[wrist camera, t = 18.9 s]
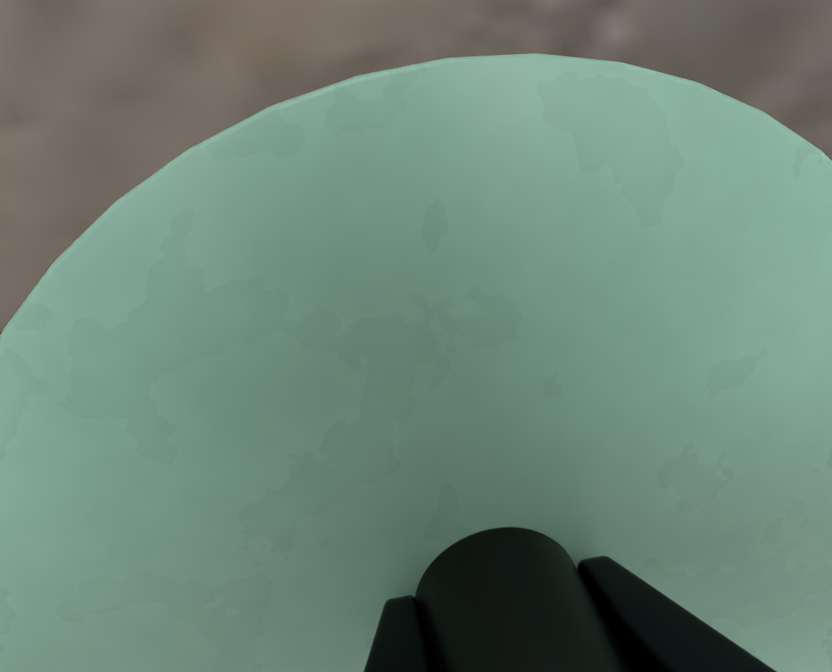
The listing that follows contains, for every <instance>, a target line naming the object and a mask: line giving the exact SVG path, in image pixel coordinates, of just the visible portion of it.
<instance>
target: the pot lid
mask: <svg viewBox="0 0 832 672" xmlns="http://www.w3.org/2000/svg"><path fill="white" fill-rule="evenodd" d="M597 556H607V557H610V558H611V559H613V560H614V561H616V562H617V563H619V564H620V565H622V566H623V567H625V568H626V569H627V570H629V571H630V572H632V573H633V574H635V575H636V576H638V577H639V578H641V579H642V580H644V581H645V582H646V583H648V584H649V585H651V586H652V587H654V588H655V589H657V590H658V591H660V592H661V593H663V594H664V595H666V596H667V597H668V598H670V599H671V600H673V601H674V602H676V603H677V604H679V605H680V606H682V607H683V608H685V609H686V610H687V611H689V612H690V613H692V614H693V615H695V616H696V617H698V618H699V619H701V620H702V621H704V622H705V623H706V624H708V625H709V626H711V627H712V628H714V629H715V630H717V631H718V632H720V633H721V634H723V635H724V636H726V637H727V638H728V639H730V640H731V641H733V642H734V643H736V644H737V645H739V646H740V647H742V648H743V649H745V650H746V651H747V652H749V653H750V654H752V655H753V656H755V657H756V658H758V659H759V660H761V661H762V662H764V663H765V664H766V665H768V666H769V667H771V668H772V669H774V670H775V671H777V672H832V161H831V160H830V159H829V158H828V157H827V156H826V155H825V154H824V153H823V152H822V151H821V150H820V149H818V148H817V147H815V146H814V145H812V144H811V143H809V142H808V141H806V140H805V139H803V138H802V137H800V136H799V135H797V134H796V133H794V132H793V131H792V130H790V129H789V128H787V127H786V126H784V125H783V124H781V123H780V122H778V121H777V120H775V119H774V118H772V117H771V116H769V115H768V114H766V113H765V112H763V111H761V110H758V109H756V108H754V107H752V106H750V105H747V104H745V103H743V102H741V101H738V100H736V99H734V98H732V97H729V96H727V95H725V94H723V93H721V92H718V91H716V90H714V89H712V88H709V87H707V86H705V85H703V84H700V83H698V82H695V81H692V80H688V79H684V78H680V77H676V76H673V75H669V74H665V73H661V72H657V71H654V70H650V69H646V68H642V67H638V66H635V65H631V64H627V63H623V62H618V61H608V60H598V59H588V58H579V57H569V56H559V55H549V54H539V53H531V54H511V55H490V56H470V57H449V58H443V59H438V60H433V61H428V62H423V63H418V64H413V65H408V66H403V67H397V68H392V69H387V70H382V71H377V72H372V73H367V74H362V75H357V76H354V77H351V78H348V79H346V80H343V81H340V82H337V83H334V84H331V85H328V86H326V87H323V88H320V89H317V90H314V91H311V92H308V93H306V94H303V95H300V96H297V97H294V98H291V99H288V100H286V101H283V102H280V103H277V104H274V105H272V106H269V107H267V108H266V109H264V110H262V111H260V112H258V113H256V114H254V115H252V116H250V117H248V118H246V119H244V120H242V121H241V122H239V123H237V124H235V125H233V126H231V127H229V128H227V129H225V130H223V131H221V132H219V133H217V134H216V135H214V136H212V137H210V138H208V139H206V140H204V141H202V142H200V143H198V144H196V145H194V146H192V147H191V148H189V149H187V150H186V151H184V152H183V153H182V154H180V155H179V156H177V157H176V158H175V159H173V160H172V161H171V162H169V163H168V164H166V165H165V166H164V167H162V168H161V169H159V170H158V171H157V172H155V173H154V174H152V175H151V176H150V177H148V178H147V179H146V180H144V181H143V182H141V183H140V184H139V185H137V186H136V187H134V188H133V189H132V190H130V191H129V192H128V193H126V194H125V195H123V196H122V197H121V198H119V199H118V200H116V201H115V202H114V203H113V204H112V205H111V206H110V207H109V208H108V209H107V210H106V211H105V212H104V213H103V214H102V215H101V216H100V217H99V218H98V219H97V220H96V221H95V222H94V223H93V224H92V225H91V226H90V227H89V228H88V229H86V230H85V231H84V232H83V233H82V234H81V235H80V236H79V237H78V238H77V239H76V240H75V241H74V242H73V243H72V244H71V245H70V246H69V247H68V248H67V249H66V250H65V251H64V252H63V253H62V254H61V255H60V256H59V257H58V258H57V259H56V260H55V261H54V262H53V263H52V264H51V266H50V267H49V268H48V270H47V271H46V272H45V274H44V275H43V277H42V278H41V279H40V281H39V282H38V283H37V285H36V286H35V287H34V289H33V290H32V291H31V293H30V294H29V295H28V297H27V298H26V299H25V301H24V302H23V303H22V305H21V306H20V307H19V309H18V310H17V311H16V313H15V314H14V316H13V317H12V318H11V320H10V321H9V322H8V324H7V325H6V326H5V328H4V330H3V332H2V334H1V336H0V672H364V669H365V665H366V662H367V659H368V656H369V652H370V649H371V646H372V643H373V639H374V636H375V633H376V630H377V626H378V623H379V620H380V617H381V613H382V610H383V607H384V604H385V602H386V601H387V600H388V599H392V598H397V597H401V596H406V595H413V596H414V597H415V599H416V603H417V608H418V613H419V618H420V622H421V627H422V632H423V637H424V641H425V646H426V651H427V655H428V661H429V667H430V672H633V671H632V669H631V667H630V665H629V663H628V661H627V660H626V658H625V656H624V654H623V652H622V650H621V649H620V647H619V645H618V643H617V641H616V639H615V638H614V636H613V634H612V632H611V630H610V629H609V627H608V625H607V623H606V621H605V619H604V618H603V616H602V614H601V612H600V610H599V608H598V607H597V605H596V603H595V601H594V599H593V597H592V596H591V594H590V592H589V590H588V588H587V587H586V585H585V583H584V581H583V579H582V577H581V576H580V574H579V572H578V570H577V569H578V564H579V562H580V561H581V560H583V559H588V558H592V557H597Z"/></svg>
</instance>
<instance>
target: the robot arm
mask: <svg viewBox="0 0 832 672" xmlns="http://www.w3.org/2000/svg"><path fill="white" fill-rule="evenodd" d="M577 570H578V572H579V574H580V576H581V577H582V579H583V581H584V583H585V585H586V587H587V588H588V590H589V592H590V594H591V596H592V597H593V599H594V601H595V603H596V605H597V607H598V608H599V610H600V612H601V614H602V616H603V618H604V619H605V621H606V623H607V625H608V627H609V629H610V630H611V632H612V634H613V636H614V638H615V639H616V641H617V643H618V645H619V647H620V649H621V650H622V652H623V654H624V656H625V658H626V660H627V661H628V663H629V665H630V667H631V669H632V671H633V672H777V671H775V670H774V669H772V668H771V667H769V666H768V665H766V664H765V663H764V662H762V661H761V660H759V659H758V658H756V657H755V656H753V655H752V654H750V653H749V652H747V651H746V650H745V649H743V648H742V647H740V646H739V645H737V644H736V643H734V642H733V641H731V640H730V639H728V638H727V637H726V636H724V635H723V634H721V633H720V632H718V631H717V630H715V629H714V628H712V627H711V626H709V625H708V624H706V623H705V622H704V621H702V620H701V619H699V618H698V617H696V616H695V615H693V614H692V613H690V612H689V611H687V610H686V609H685V608H683V607H682V606H680V605H679V604H677V603H676V602H674V601H673V600H671V599H670V598H668V597H667V596H666V595H664V594H663V593H661V592H660V591H658V590H657V589H655V588H654V587H652V586H651V585H649V584H648V583H646V582H645V581H644V580H642V579H641V578H639V577H638V576H636V575H635V574H633V573H632V572H630V571H629V570H627V569H626V568H625V567H623V566H622V565H620V564H619V563H617V562H616V561H614V560H613V559H611V558H610V557H607V556H597V557H592V558H588V559H583V560H581V561H580V562H579V564H578V569H577ZM364 672H430V667H429V661H428V655H427V651H426V646H425V641H424V637H423V632H422V627H421V622H420V618H419V613H418V608H417V603H416V599H415V597H414V596H413V595H406V596H401V597H397V598H392V599H388V600H387V601H386V602H385V604H384V607H383V610H382V613H381V617H380V620H379V623H378V626H377V630H376V633H375V636H374V639H373V643H372V646H371V649H370V652H369V656H368V659H367V662H366V665H365V669H364Z"/></svg>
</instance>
